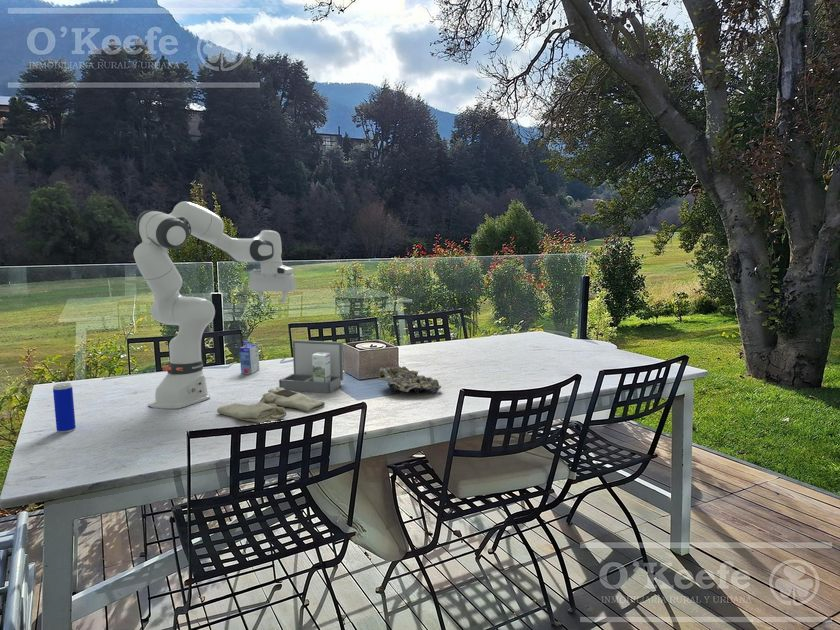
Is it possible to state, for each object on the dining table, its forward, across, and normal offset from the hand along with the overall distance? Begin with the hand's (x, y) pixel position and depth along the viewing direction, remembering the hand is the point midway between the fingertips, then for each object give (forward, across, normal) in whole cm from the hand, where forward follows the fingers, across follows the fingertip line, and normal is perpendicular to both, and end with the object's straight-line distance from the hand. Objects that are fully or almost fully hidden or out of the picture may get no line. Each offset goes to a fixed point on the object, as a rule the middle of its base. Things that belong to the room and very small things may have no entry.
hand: (272, 302), depth 241 cm
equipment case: (+34, +20, -6) cm, 40 cm away
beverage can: (+34, -33, -75) cm, 89 cm away
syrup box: (+34, +25, -7) cm, 43 cm away
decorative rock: (+34, +59, -1) cm, 68 cm away
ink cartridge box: (+34, -20, +13) cm, 42 cm away
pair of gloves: (+35, +20, -40) cm, 56 cm away
